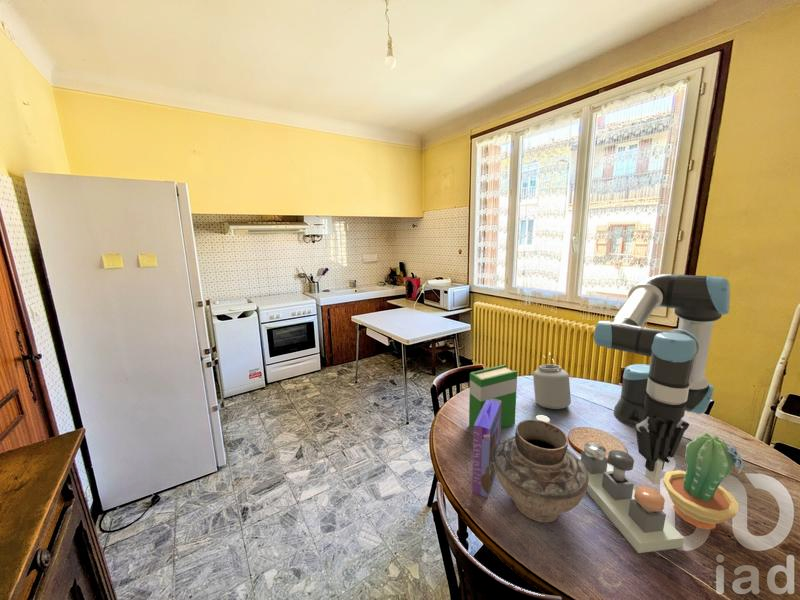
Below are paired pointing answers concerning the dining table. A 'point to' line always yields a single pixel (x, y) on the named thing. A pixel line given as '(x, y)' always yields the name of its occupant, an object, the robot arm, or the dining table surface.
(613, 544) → the dining table surface
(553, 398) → the jar
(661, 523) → the console
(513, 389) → the hardback book
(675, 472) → the potted cactus
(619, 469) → the middle plunger
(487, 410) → the cereal box
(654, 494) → the terracotta plunger
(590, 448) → the plunger
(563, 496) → the ceramic pot
